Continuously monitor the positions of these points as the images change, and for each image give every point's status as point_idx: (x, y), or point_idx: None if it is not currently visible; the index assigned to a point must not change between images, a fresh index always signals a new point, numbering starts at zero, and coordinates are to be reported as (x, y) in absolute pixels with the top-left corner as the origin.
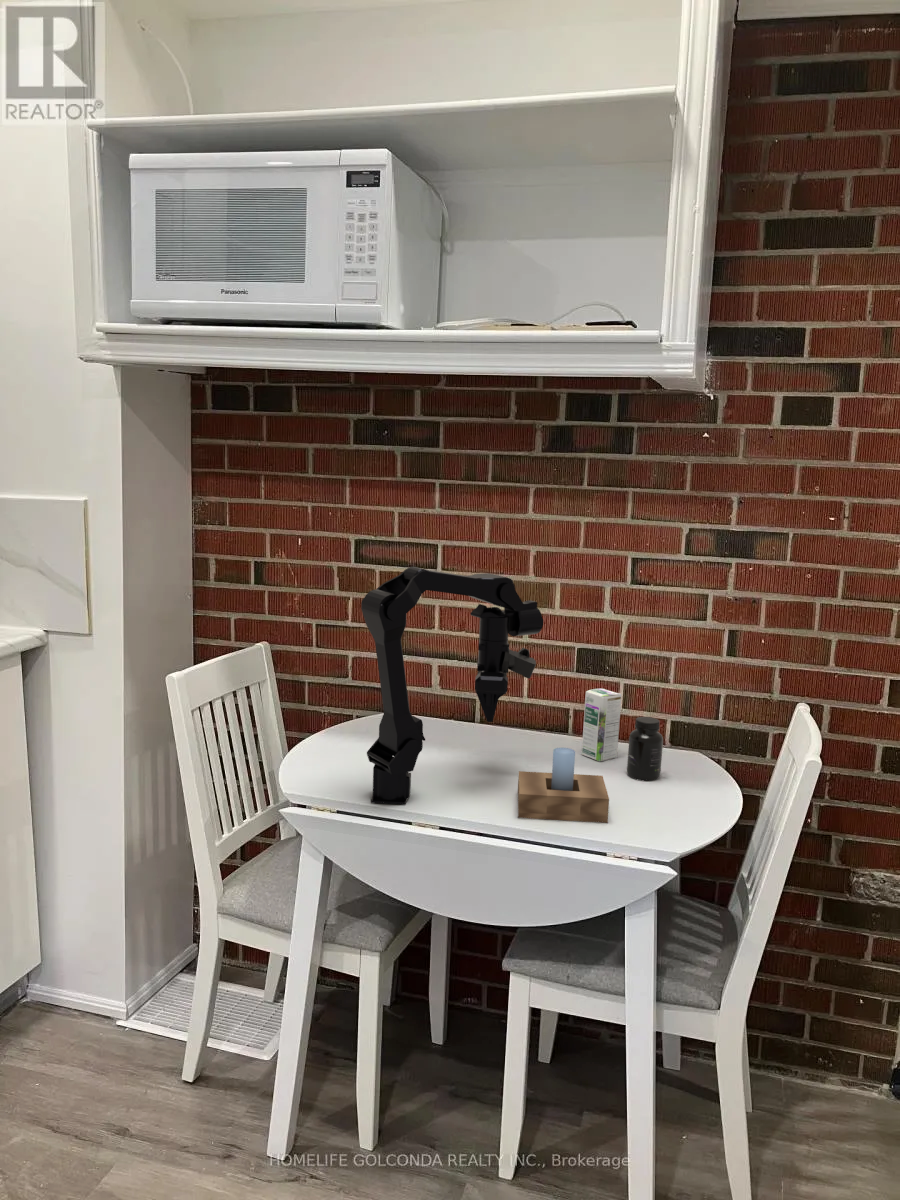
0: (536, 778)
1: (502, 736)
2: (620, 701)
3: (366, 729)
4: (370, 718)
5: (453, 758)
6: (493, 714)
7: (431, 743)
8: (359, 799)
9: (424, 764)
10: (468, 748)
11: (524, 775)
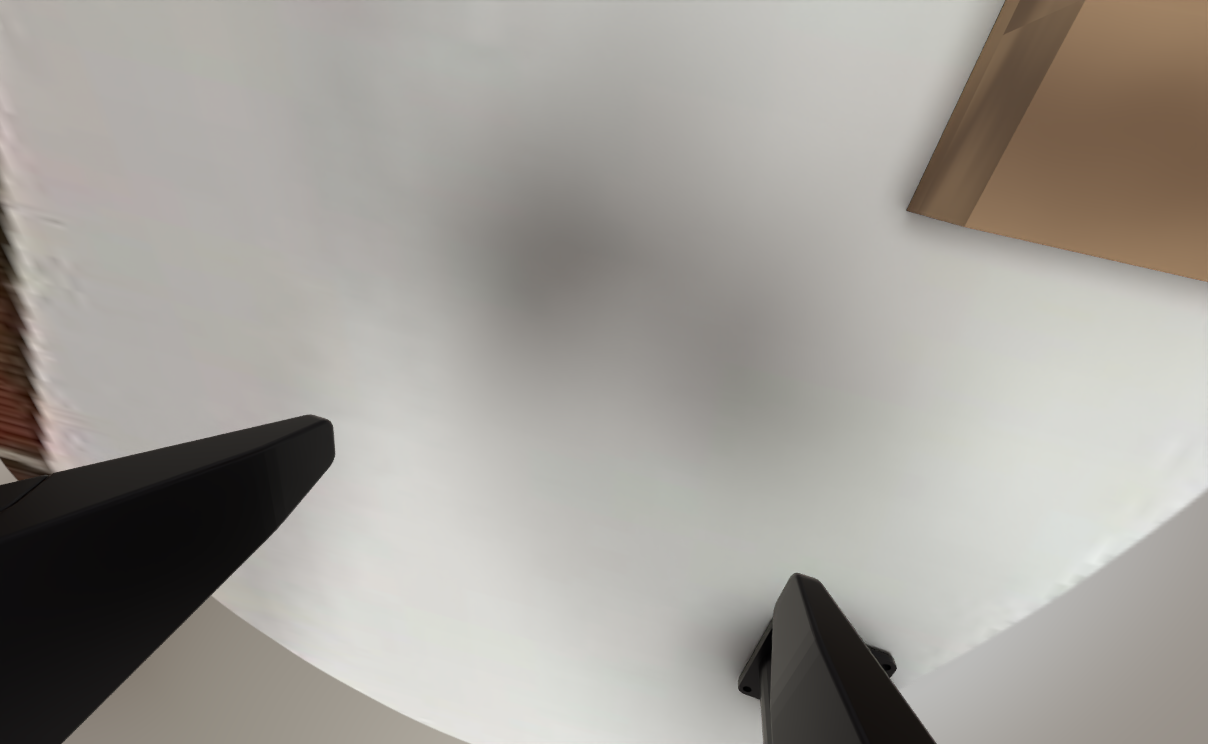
0: (1203, 116)
1: (107, 104)
2: None
3: None
4: None
5: (425, 388)
6: (880, 680)
7: None
8: None
9: (497, 497)
10: (303, 303)
11: (1078, 204)
